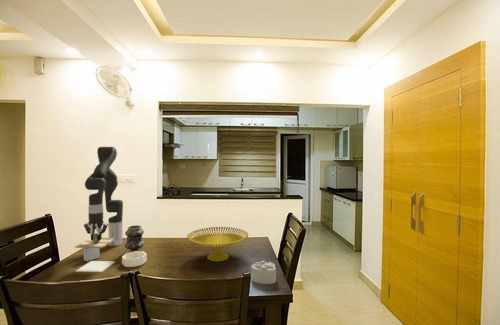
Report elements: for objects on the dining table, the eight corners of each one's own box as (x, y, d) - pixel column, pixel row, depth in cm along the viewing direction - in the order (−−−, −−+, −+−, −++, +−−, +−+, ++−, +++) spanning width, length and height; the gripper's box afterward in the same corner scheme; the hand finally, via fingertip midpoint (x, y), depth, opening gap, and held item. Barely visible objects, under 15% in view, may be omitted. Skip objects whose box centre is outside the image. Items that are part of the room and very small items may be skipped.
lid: (91, 239, 162) (91, 229, 162) (115, 239, 162) (115, 230, 161) (75, 247, 147) (74, 237, 147) (101, 248, 147) (101, 238, 146)
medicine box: (96, 256, 171) (96, 243, 170) (100, 257, 168) (99, 244, 168) (83, 260, 164) (83, 246, 164) (87, 262, 162) (87, 248, 161)
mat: (91, 261, 162) (91, 261, 162) (115, 262, 161) (115, 261, 161) (75, 271, 148) (75, 270, 148) (101, 272, 147) (101, 271, 147)
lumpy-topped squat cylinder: (276, 284, 136) (276, 267, 135) (251, 284, 135) (251, 267, 135) (274, 275, 146) (274, 259, 146) (251, 275, 146) (251, 259, 146)
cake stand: (240, 273, 148) (240, 247, 147) (175, 266, 156) (175, 241, 155) (253, 248, 187) (253, 228, 187) (200, 244, 195) (201, 224, 195)
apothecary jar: (147, 250, 183) (147, 224, 183) (138, 256, 171) (138, 229, 171) (131, 249, 184) (131, 224, 184) (121, 255, 172) (120, 228, 172)
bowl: (129, 258, 167) (129, 251, 167) (149, 259, 167) (149, 251, 167) (118, 267, 154) (118, 258, 154) (140, 267, 154) (140, 259, 154)
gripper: (111, 210, 157) (111, 238, 158) (88, 210, 158) (88, 238, 158) (103, 213, 150) (104, 242, 150) (79, 212, 150) (80, 242, 151)
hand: (96, 240), depth 154 cm, fingers closed on lid, 3 cm apart
